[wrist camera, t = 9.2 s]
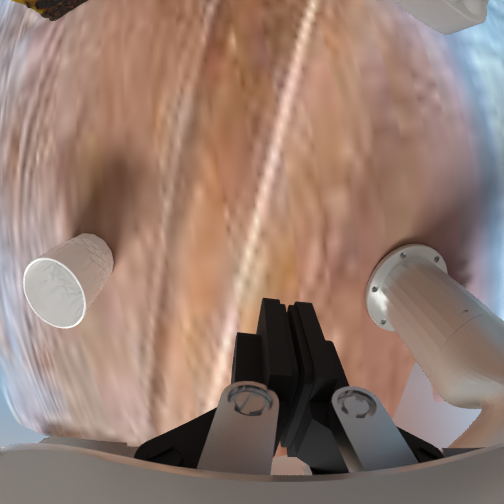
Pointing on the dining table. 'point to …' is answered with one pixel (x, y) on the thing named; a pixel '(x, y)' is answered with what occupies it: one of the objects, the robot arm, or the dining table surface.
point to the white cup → (68, 279)
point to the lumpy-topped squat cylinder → (446, 13)
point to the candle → (51, 7)
